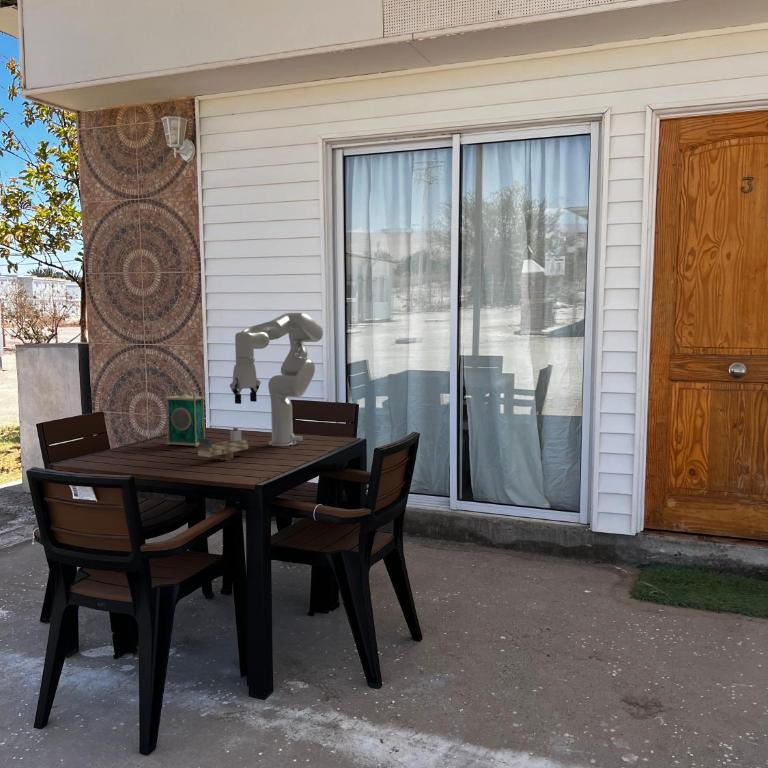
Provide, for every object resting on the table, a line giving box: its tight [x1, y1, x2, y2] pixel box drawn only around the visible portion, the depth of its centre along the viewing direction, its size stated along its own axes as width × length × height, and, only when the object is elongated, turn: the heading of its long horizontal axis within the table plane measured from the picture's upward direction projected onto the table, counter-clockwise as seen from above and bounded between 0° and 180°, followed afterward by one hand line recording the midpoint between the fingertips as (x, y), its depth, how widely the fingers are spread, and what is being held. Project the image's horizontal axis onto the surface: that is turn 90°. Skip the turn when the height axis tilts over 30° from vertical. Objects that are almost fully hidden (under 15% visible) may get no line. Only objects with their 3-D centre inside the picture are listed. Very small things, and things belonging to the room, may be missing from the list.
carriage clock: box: [163, 379, 207, 448], centre depth 345 cm, size 17×9×30 cm, turn 70°
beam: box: [197, 437, 249, 461], centre depth 312 cm, size 22×7×10 cm, turn 145°
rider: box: [229, 427, 243, 443], centre depth 317 cm, size 4×2×7 cm, turn 145°
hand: (245, 402), depth 321 cm, fingers open, 8 cm apart
